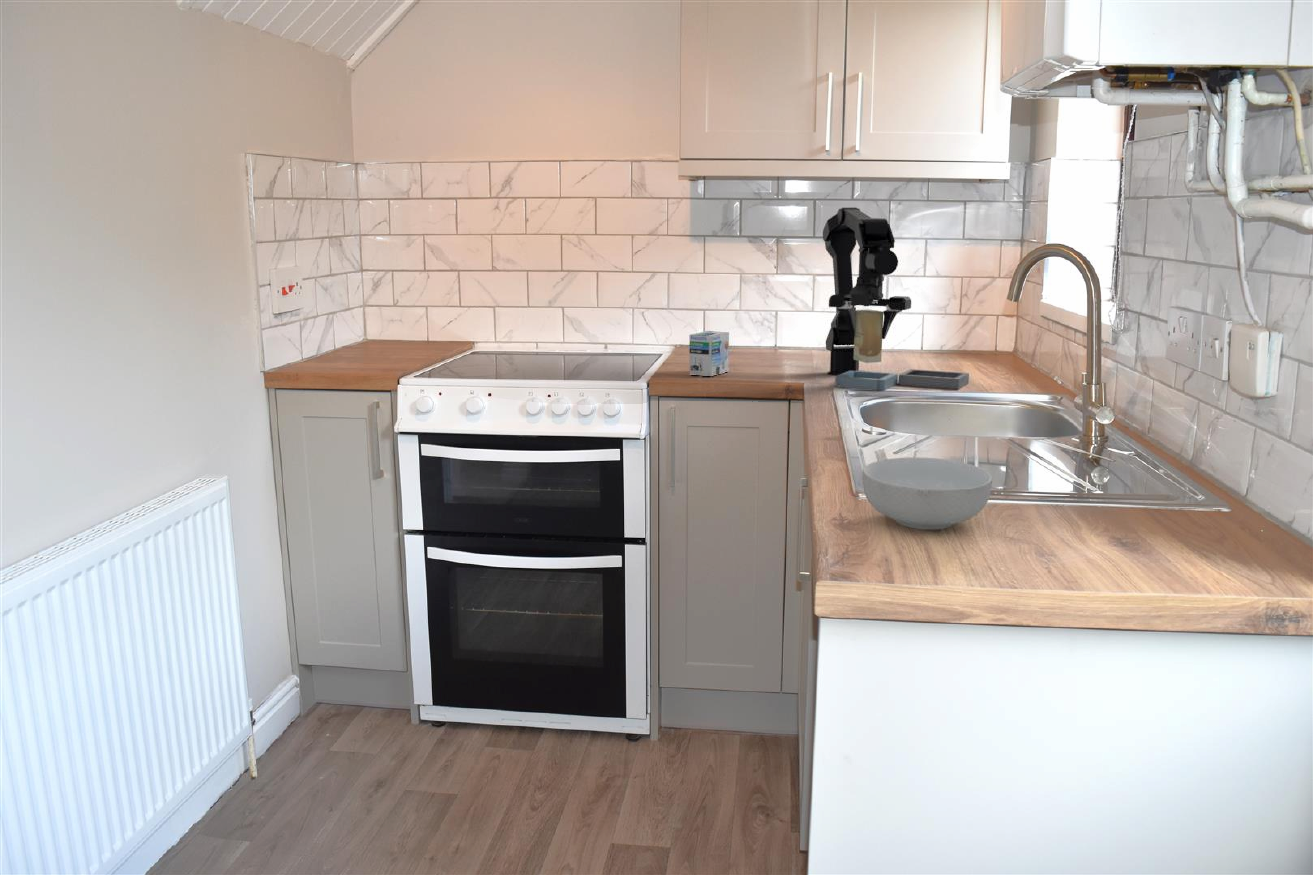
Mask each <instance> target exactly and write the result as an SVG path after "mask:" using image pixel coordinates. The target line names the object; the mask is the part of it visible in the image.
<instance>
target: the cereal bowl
mask: <svg viewBox="0 0 1313 875" xmlns="http://www.w3.org/2000/svg"><path fill="white" fill-rule="evenodd" d="M992 484H993V478H992V476H991V474H990V473H989V472H988V471H986V470H985V469H983V468H980V467H979V466H977V465H973V464H970V463H966V462H961V461H956V460H952V459H951V460H950V459H945V458H936V457H919V456H918V457H894V458H887V459H881V460H876V461H873V462H871V463H869V464H867V465H866V466H864V467H863V470H862V486H863V487H862V488H863V489H862V490H863V492H864V493H863V494H864V495H865V498H866V500H867V502H868V503H869V504H870V506H871V507H873V509H874V510H876V511H878V513H880V514H882V515H884V516H886V517H888V518H891V519H892V520H894V521H895V522H896V523H897V524H900V525H901V526H904V527H907V528H911V529H917V530H929V531H931V530H932V531H934V530H935V531H936V530H943V529H946V528H950V527H952V526H953V525H955V524H959V523H962V522H966V521H968V520H971V519H972V518H974V517H975V516H977V515H979V513H982V512H981V511H983V510H984V508H985V507H986V506H987V504H988V502H989V498H990V496H991V491H992V487H993V486H992Z"/></svg>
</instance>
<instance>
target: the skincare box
mask: <svg viewBox="0 0 1313 875" xmlns="http://www.w3.org/2000/svg"><path fill="white" fill-rule="evenodd" d="M883 322H884V312H883V310H882V311H881V310H878V309H877V310H876V309H869V308H867V309H856V310H855V334H854V345H853V346H854V360H858V361H859V362H863V363H866V364H871V363H881V362H882V357H883V356H882V353H883V352H882V351H883V350H882V348H883V339H882V330H883Z"/></svg>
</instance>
